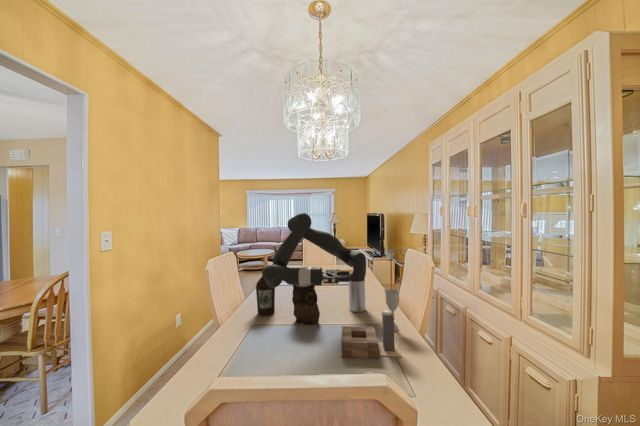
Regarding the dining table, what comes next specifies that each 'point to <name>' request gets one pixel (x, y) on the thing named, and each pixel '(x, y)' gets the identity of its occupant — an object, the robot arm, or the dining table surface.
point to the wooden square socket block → (359, 342)
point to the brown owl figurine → (305, 304)
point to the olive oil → (265, 298)
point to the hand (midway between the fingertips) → (349, 276)
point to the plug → (388, 330)
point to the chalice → (392, 302)
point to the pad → (389, 353)
